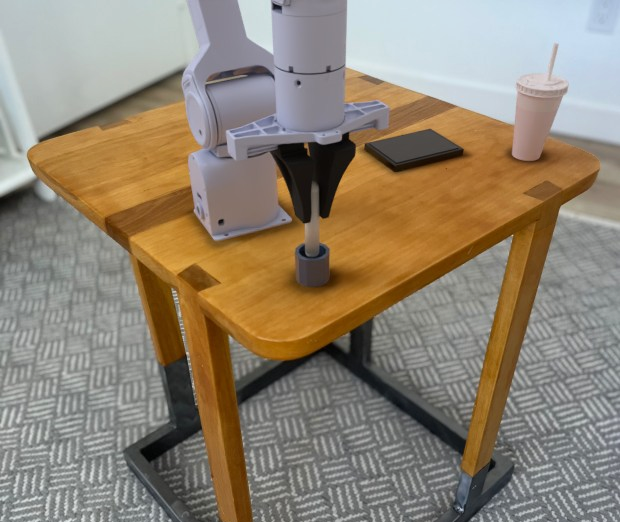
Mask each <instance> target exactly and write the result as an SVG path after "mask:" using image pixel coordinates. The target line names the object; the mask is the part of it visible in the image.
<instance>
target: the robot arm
mask: <svg viewBox="0 0 620 522" xmlns="http://www.w3.org/2000/svg"><path fill="white" fill-rule="evenodd" d="M185 2H186V4H187V8H188V12H189V15H190V19H191V22H192V26H193V30H194V34H195V37H196V40H197V45H198V48H199V49H198V51H197V53H196V54H195V55H194V57H193V58H192V60H190V62H189V64H188V65H187V66H186V67H185V70H184V71H183V74H182V77H181V88H182V92H183V97H184V102H185V103H184V104H185V105H184V106H185V113H186V118H187V121H188V122H187V123H188V126H189V128H190V129H189V130H190V131H191V134H192V136H193V138H194V140H195V142H196V143H197V145H199V146H200V147H202V148H200V149H199V150H196V151H193V152H190V153H189V154H188V158H187V166H188V173H189V174H188V175H189V181H190V186H191V187H190V188H191V193H192V200H193V206H194V209H193V213H194V215H195V216H196V217H197V219H198V220H199V221H200V223H201V224H202V226H203V227H204V229H205V230H206V231H207V232H208V234H209V235H210V237H211V238H212V239H213V240H214V242H222V241H226V240H229V239H234V238H238V237H241V236H245V235H249V234H252V233H256V232H260V231H263V230H268V229H272V228H275V227H279V226H283V225H287V224H290V223H291V224H292V222H293V218H292V217H291V216H290V215H289V214H288V213H287V212H286V210H284V209H283V208H282V206H281V205H280V204H279V191H278V171H277V170H279V172H280V174H281V175H282V178H283V180H284V182H285V185H286V188H287V190H288V194H289V197H290V200H291V203H292V208H293V213H294V216H295V217H296V218H297V219H298V220H299V221H300V222H301V223H302V224H304V225H305V224H306V223H310V222H311V215H312V209H311V188H312V181H315V182H316V183H317V184H318V185H319V218H321V219H322V220H325V219H328V218H329V217H330V214H331V210H332V206H333V203H334V201H335V196H336V193H337V191H338V188H339V185H340V183H341V181H342V179H343V176H344V175H345V173H346V171H347V169H348V167H349V165H350V164H351V163H352V161H353V160H354V159H355V158H356V153H357V152H356V151H357V144H356V143H355V142H354V141H353V140H352V139H350V134H353V133H358V132H363V131H367V130H373V129H375V130H377V131H383V130H388V129H389V126H390V125H389V124H390V112H391V107H390V106H389V105H388V104H385V103H384V102H382V101H381V100H379V99H376V100H369V101H360V102H346V100H345V99H346V69H347V68H346V67H347V65H346V63H347V62H346V61H347V32H348V31H347V28H348V27H347V26H348V25H347V24H348V0H270V12H271V13H270V14H271V31H272V32H271V33H272V34H271V35H272V48H273V49H272V51H273V52H272V53H271V51H268V50H267V49H266V48H265V47H262V46H261V45H259V44H257V43H256V42H254V41H253V40H252V39H250V38H249V37H248V36H247V32H246V29H245V24H244V20H243V16H242V12H241V8H240V5H239V0H185ZM239 76H240V77H239ZM228 78H229V79H228ZM230 78H231V79H230ZM209 82H211V83H209ZM305 144H307V147H308V148H306V147H305ZM277 167H278V169H277Z"/></svg>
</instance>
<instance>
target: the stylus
mask: <svg viewBox="0 0 620 522" xmlns="http://www.w3.org/2000/svg"><path fill="white" fill-rule="evenodd" d="M311 209H312V215H311V222H310V223H306V224H304V243H305V253H306V255H307V256H308V257H310V258H315V257H317V256H318V254H319V242H320V216H319V185H318V184H317V183H316V182H315V181H312V188H311Z"/></svg>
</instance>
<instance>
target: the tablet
mask: <svg viewBox="0 0 620 522" xmlns="http://www.w3.org/2000/svg"><path fill="white" fill-rule="evenodd" d="M363 150H364V151H365V152H367V153H368V154H370V155H371V156H372V157H374V158H375V159H376V160H378V161H379V162H380V163H382V164H383V165H385V166H386V167H387V168H388V169H390V170H391V171H393V172H395V173H396V172H397V173H398V172H400V171H404V170H405V171H406V170H408V169H413V168H416V167H420V166H425V165H429V164H433V163H436V162H440V161H445V160H449V159H453V158H457V157H461V156H464V152H465V148H464V147H462V146H460V145H458V144H457V143H456V142H453V141H451V140H450V139H448V138H447V137H445V136H443V135H442V134H440V133H438V132H437V131H435V130H433V129H432V128H427V129H422V130H418V131H414V132H408V133H404V134H401V135H396V136H391V137H386V138H383V139H378V140H374V141H370V142H365V143H364V149H363Z"/></svg>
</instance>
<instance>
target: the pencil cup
mask: <svg viewBox="0 0 620 522" xmlns="http://www.w3.org/2000/svg"><path fill="white" fill-rule="evenodd" d="M330 252H331V249H330V247H329V246H328V245H327V244H325V243H322V242H320V241H319V254H318V256H317V257H315V258H310V257H308V256H307V255H306V253H305V242H302V243H300V244H299V245H297V246H296V247H295V250H294V264H295V265H294V267H295V280H296V282H297V283H298V284H300V285H301V286H302V287H303V286H304V287H307V288H318V287H321V286H324V285H326V284H328V282H329V280H330V276H331V274H330V273H331V271H330V270H331V269H330V268H331V263H330V262H331V253H330Z"/></svg>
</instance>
